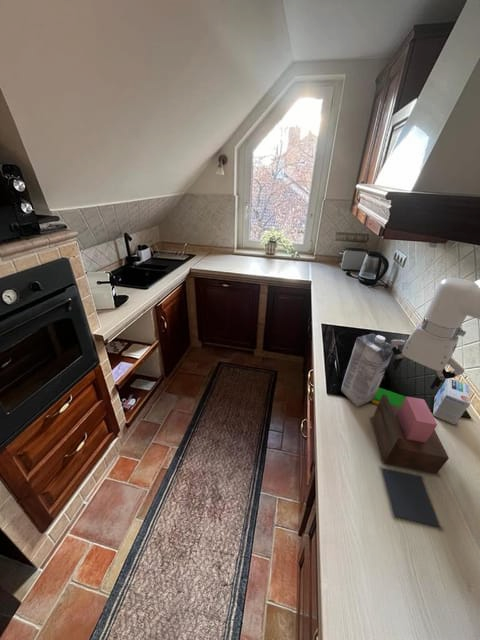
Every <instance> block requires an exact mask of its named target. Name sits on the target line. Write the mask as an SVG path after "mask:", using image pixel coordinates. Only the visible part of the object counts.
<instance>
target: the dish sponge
mask: <svg viewBox="0 0 480 640" xmlns="http://www.w3.org/2000/svg"><path fill="white" fill-rule="evenodd" d="M383 394H384V395H387V397H388V400H389V403H390V405H394V406H400V407H401V405H402V403H403V401H404V399H405V397H406V396H405V395H402V394H399V393H397V392H393V391H391V390H387V389H385V388H382V387H380V386H379V387H378V390H377V392H376V394H375V396H374V398H373V399H372V400H371V401H370V402H371V403H372V404H375V405H378V404H379V402H380V400H381V397H382V395H383Z"/></svg>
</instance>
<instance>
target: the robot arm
mask: <svg viewBox="0 0 480 640" xmlns="http://www.w3.org/2000/svg"><path fill="white" fill-rule="evenodd" d="M467 316H468V317H471V318H474V319H477V320H480V278H479V279H477V280H475V281H474V282H473V281H472V280H468V279H464V278H459V277H447V278H444V279H442V280H441V281H440V282H439V284H438V285H437V288H436V290H435V292H434V295H433V296H432V299H431V301H430V303H429V305H428V308H427V309H426V312H425V314H424V317H423V319H422V321H421V322H419V323H418V324H417V325H416V326H415V328H414V329H413V330H412V332H411V333H410V334H409V336H408V339H392V340H391V341H390V345H391V346H392V351H393V353H392V354H394V358H395V359H394V362H393V364H392V366H393V368H392V371H397V370H398V369H399V368H400V367H401V365H402V363H403V361H404V358H407V359H409V360H410V361H413V362H415V363H417V364H419V365H421V366H424V367H426V368H429V369H430V370H433V371H435V373H436V377H435V379H434V380H433V382H432V384H431V386H430V389H431V390H434V389H435V388H436V387H437V388H439V387H440V385H441V383H442V381H445V380H446V379H448V378H450V379H454V378H456V377H458V376H460V375H463V374H464V373H465V368H463V366H461V365H460V364H459V363H458V362H457V361H456V360H455V359H454V358H453V356H454V355H453V354H454V352H455V351H456V348H457V346H458V343H459V337H465V335H466V334H467V331H466V330H463V329H462V325H463V323H464V321H465V320H466V318H467ZM399 346H403V348H402V350H401V349H400V347H399ZM448 365H449V366H450V367H451V368H452V370H450V371H449V370H448V371H447V369H446V367H447V366H448Z"/></svg>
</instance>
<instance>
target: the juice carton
mask: <svg viewBox="0 0 480 640" xmlns="http://www.w3.org/2000/svg"><path fill="white" fill-rule="evenodd" d="M355 339H356V340H355V342H354V346H353V349H352V351H351V355H350V358H349V362H348V364H347V368H346V370H345V374H344V377H343V380H342V384H341V389H340V391H341V393H342V394H343V395H345V396H346V397H347V399H349V400H350V401H351V402H352V403H353V404H354V406H356V407H360V406H363V405H365V404H368V403H370V402H371V401H372V399H373V398H374V396H375V394H376V392H377V390H378V387H379V388H380V385H381V382H382V381H383V378H384V376H385V373H386V371H387V368H388V367H389V366H388V365H389V364H390V361H391V358H392V356H393V354H394V353H393V351H392V346H391V343H388V342H386V337H385V336H383V335H380V334H377V335H376V334H375V333H373V332H372V333H369V334H365V335H361V336H357V337H356V338H355Z"/></svg>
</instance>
